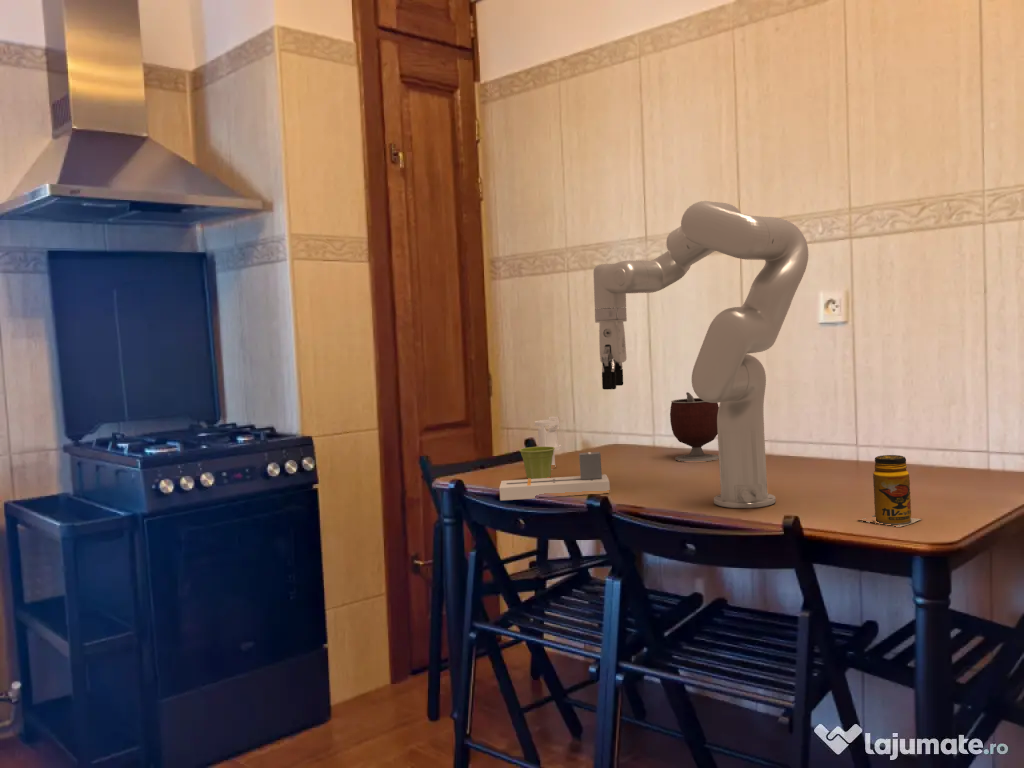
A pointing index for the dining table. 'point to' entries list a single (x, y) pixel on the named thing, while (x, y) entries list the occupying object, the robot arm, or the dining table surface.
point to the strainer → (548, 434)
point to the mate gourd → (694, 426)
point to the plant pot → (537, 461)
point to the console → (550, 486)
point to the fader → (590, 465)
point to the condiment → (892, 491)
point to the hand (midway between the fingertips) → (613, 387)
